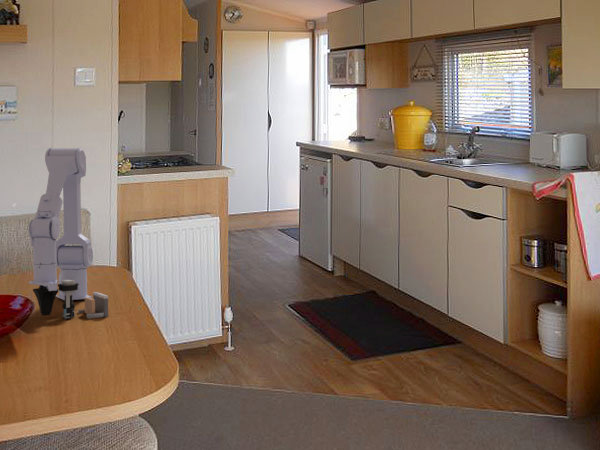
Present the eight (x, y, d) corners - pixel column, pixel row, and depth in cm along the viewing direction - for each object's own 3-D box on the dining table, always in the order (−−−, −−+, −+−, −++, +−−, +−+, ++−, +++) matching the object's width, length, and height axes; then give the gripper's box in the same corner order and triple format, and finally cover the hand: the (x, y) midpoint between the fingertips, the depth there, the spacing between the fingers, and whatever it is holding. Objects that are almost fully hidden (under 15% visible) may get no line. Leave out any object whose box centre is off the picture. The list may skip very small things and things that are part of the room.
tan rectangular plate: (85, 313, 196) (84, 297, 195) (87, 313, 196) (87, 297, 196) (92, 316, 191) (91, 300, 191) (95, 316, 191) (94, 299, 191)
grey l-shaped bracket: (77, 314, 196) (77, 293, 196) (97, 312, 199) (97, 291, 199) (88, 318, 189) (87, 297, 188) (108, 316, 192) (108, 295, 192)
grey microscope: (77, 319, 187) (76, 282, 187) (56, 320, 186) (55, 282, 186) (80, 315, 194) (79, 279, 193) (59, 316, 193) (59, 279, 192)
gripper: (22, 262, 190) (23, 312, 190) (36, 267, 178) (37, 320, 179) (49, 260, 194) (50, 310, 194) (64, 265, 182) (66, 317, 183)
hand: (46, 315), depth 187 cm, fingers closed
